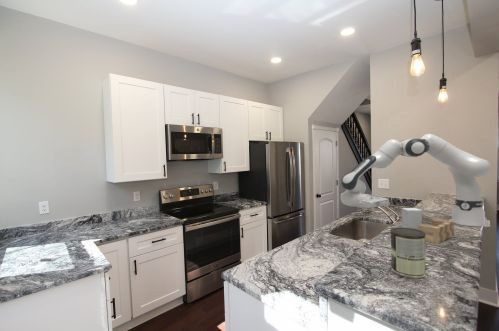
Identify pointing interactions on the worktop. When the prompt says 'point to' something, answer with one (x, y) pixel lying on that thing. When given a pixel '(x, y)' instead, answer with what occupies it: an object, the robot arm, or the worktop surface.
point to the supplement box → (411, 218)
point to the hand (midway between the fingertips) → (389, 204)
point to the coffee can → (408, 252)
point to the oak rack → (437, 230)
